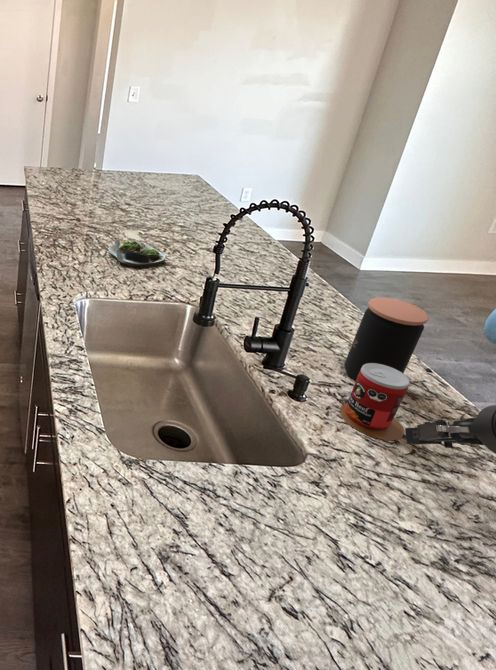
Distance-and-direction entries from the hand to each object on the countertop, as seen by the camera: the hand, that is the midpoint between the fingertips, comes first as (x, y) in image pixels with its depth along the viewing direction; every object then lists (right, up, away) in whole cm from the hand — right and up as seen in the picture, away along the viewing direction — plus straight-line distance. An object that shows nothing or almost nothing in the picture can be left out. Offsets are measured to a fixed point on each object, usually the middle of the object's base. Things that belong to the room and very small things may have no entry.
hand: (410, 436), depth 98 cm
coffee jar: (+10, +6, +25) cm, 27 cm away
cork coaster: (+1, 0, +11) cm, 11 cm away
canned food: (0, 0, +12) cm, 12 cm away
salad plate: (-27, +34, +81) cm, 92 cm away
